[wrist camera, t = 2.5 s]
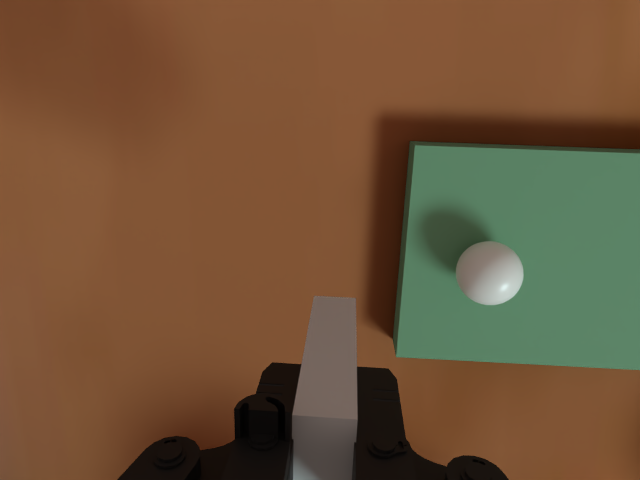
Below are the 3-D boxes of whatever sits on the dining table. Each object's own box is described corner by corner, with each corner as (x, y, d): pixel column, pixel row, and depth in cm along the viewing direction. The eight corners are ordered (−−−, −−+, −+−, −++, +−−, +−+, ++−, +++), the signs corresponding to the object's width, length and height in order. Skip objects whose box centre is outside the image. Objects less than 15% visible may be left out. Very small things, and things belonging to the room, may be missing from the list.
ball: (446, 288, 26) (460, 314, 23) (453, 231, 25) (468, 251, 22) (506, 291, 26) (527, 318, 23) (515, 234, 25) (539, 255, 22)
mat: (392, 339, 29) (396, 356, 27) (409, 141, 26) (415, 145, 24) (798, 360, 28) (830, 380, 26) (875, 157, 25) (919, 163, 23)
